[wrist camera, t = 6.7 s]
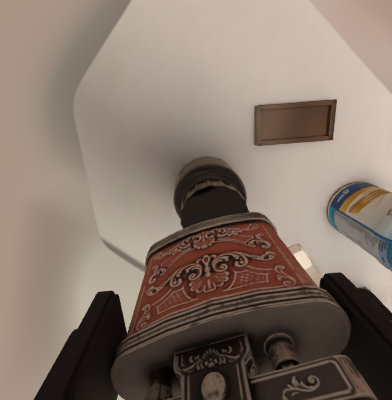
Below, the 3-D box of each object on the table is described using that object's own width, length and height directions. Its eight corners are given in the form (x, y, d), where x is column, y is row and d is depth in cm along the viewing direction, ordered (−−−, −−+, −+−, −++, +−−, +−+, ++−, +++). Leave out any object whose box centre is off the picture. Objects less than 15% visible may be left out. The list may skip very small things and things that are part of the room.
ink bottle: (162, 179, 34) (147, 207, 23) (211, 140, 33) (222, 150, 21) (202, 228, 37) (208, 275, 25) (250, 194, 35) (278, 228, 24)
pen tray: (254, 144, 33) (257, 145, 32) (254, 106, 32) (257, 105, 30) (326, 139, 33) (333, 139, 32) (330, 100, 32) (337, 99, 30)
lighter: (158, 285, 16) (112, 537, 6) (138, 241, 15) (46, 463, 5) (278, 249, 15) (429, 466, 6) (266, 201, 14) (427, 367, 5)
